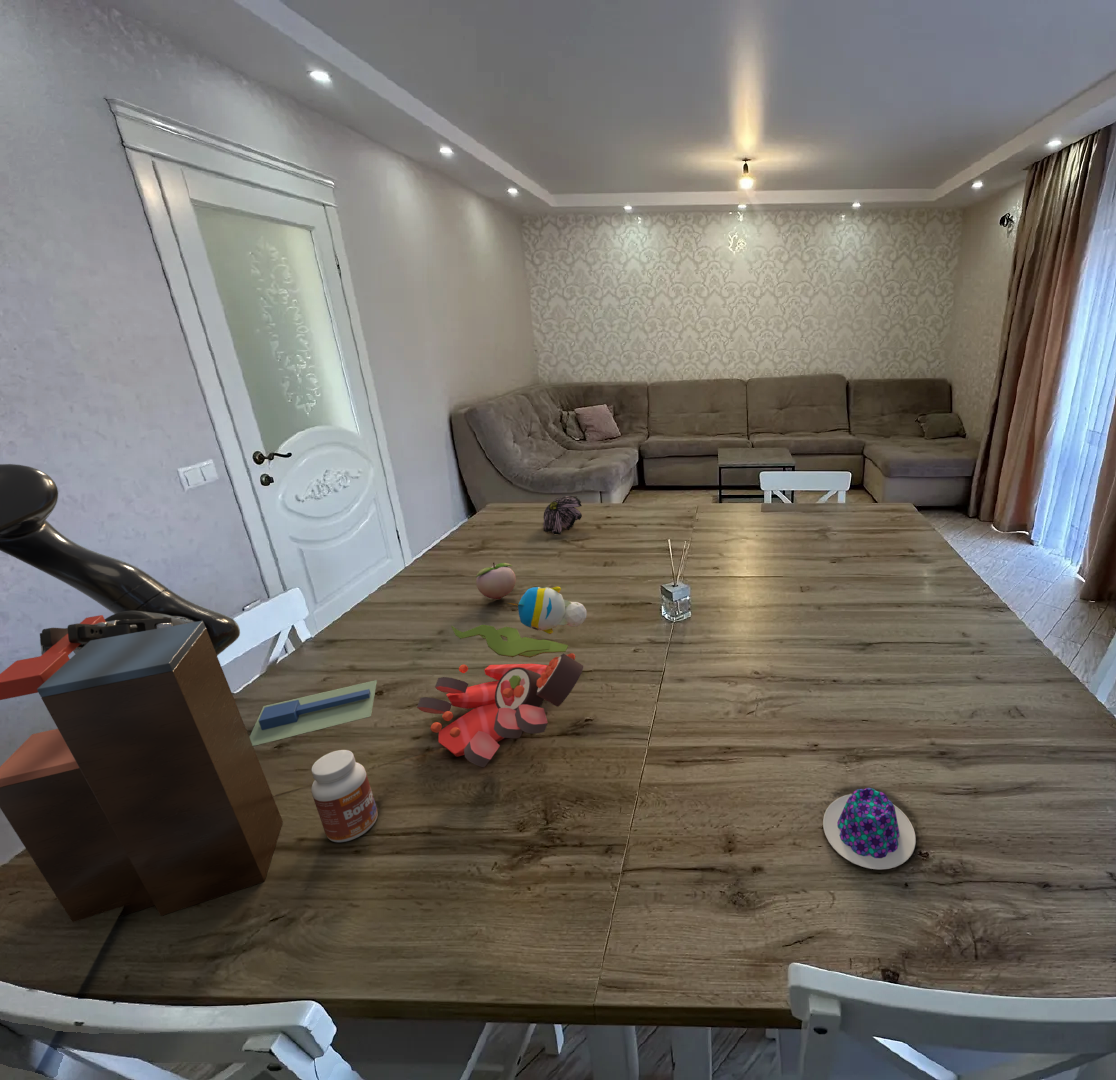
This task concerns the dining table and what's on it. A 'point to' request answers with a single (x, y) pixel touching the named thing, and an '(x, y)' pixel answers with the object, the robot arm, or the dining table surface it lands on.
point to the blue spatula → (304, 709)
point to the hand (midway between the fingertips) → (60, 635)
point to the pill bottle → (343, 796)
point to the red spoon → (38, 667)
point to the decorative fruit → (496, 581)
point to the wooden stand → (142, 779)
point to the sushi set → (509, 681)
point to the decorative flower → (561, 514)
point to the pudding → (869, 830)
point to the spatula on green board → (318, 714)
